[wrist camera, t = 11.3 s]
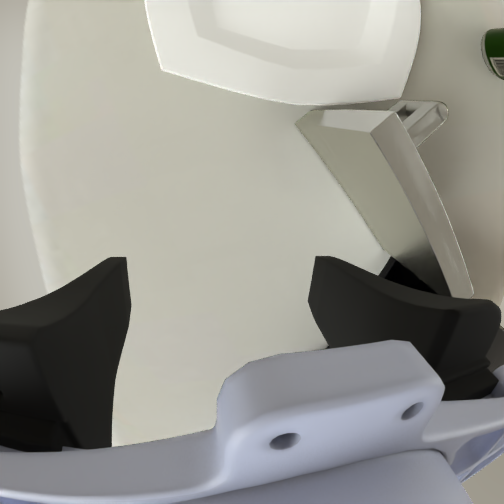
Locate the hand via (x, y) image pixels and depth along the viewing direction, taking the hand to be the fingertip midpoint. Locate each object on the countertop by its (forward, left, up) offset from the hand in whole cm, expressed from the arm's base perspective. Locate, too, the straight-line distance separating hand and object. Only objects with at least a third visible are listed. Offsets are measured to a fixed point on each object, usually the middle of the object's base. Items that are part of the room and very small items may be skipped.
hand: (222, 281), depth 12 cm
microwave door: (+9, -9, -10) cm, 16 cm away
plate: (+17, +3, -11) cm, 20 cm away
